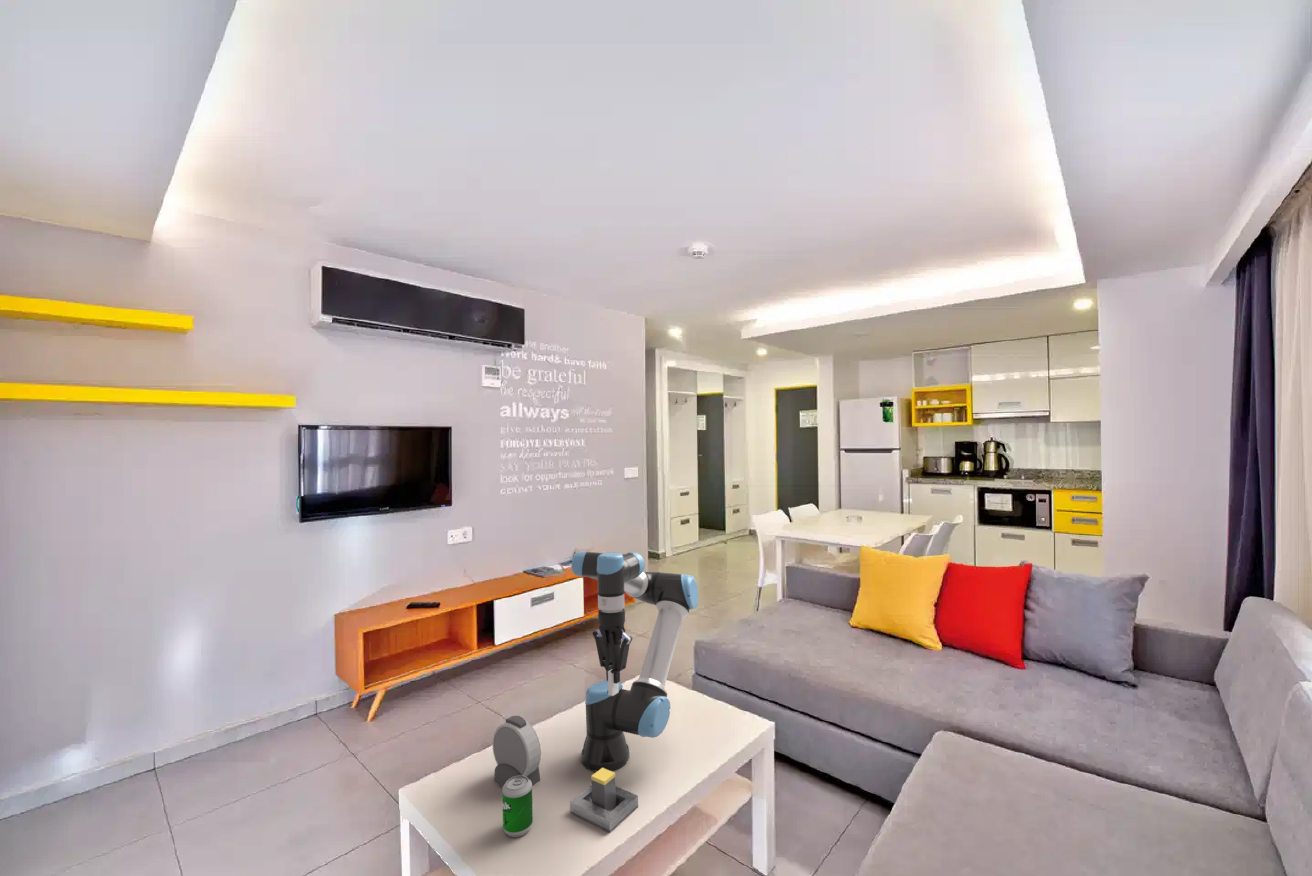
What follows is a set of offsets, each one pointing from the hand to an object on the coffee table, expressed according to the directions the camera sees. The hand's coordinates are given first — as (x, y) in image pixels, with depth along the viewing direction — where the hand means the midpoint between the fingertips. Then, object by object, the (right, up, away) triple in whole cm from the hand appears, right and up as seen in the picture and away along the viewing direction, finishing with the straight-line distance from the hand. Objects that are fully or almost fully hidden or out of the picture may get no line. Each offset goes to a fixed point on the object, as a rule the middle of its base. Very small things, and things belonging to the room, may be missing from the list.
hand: (613, 693), depth 152 cm
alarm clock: (-30, -31, +10) cm, 44 cm away
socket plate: (-2, -29, -5) cm, 30 cm away
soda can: (-24, -30, -11) cm, 40 cm away
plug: (-2, -29, -5) cm, 29 cm away
